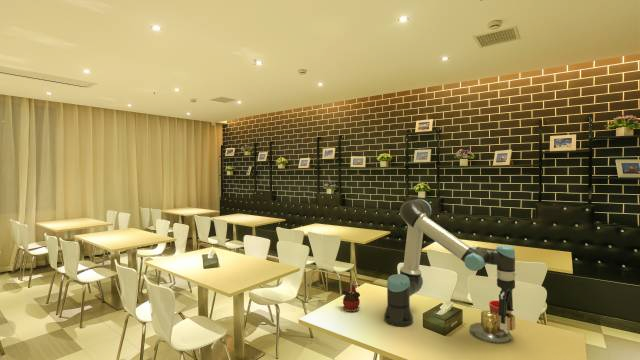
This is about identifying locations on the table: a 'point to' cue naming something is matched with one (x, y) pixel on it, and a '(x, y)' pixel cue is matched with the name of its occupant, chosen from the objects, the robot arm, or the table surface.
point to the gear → (509, 321)
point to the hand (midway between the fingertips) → (505, 326)
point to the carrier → (489, 329)
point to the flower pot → (494, 306)
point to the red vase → (351, 298)
